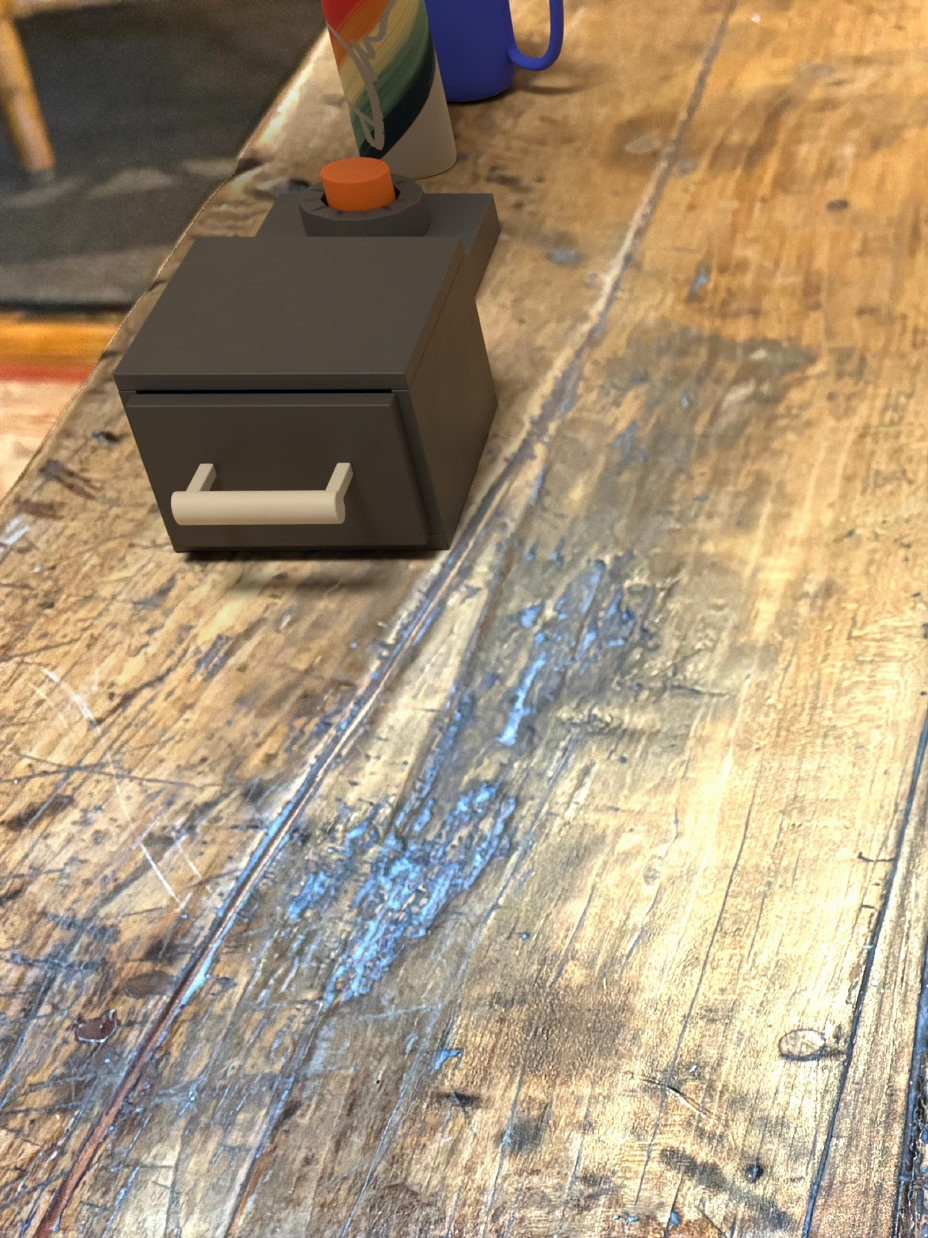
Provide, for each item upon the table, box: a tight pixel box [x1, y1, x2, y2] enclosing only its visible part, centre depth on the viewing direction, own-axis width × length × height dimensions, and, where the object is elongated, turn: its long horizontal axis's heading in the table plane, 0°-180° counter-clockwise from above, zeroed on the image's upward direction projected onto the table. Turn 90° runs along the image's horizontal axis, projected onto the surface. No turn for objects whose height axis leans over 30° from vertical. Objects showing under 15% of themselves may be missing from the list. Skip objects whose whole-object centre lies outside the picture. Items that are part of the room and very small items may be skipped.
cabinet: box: [112, 236, 499, 552], centre depth 106 cm, size 15×13×9 cm
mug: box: [424, 0, 565, 103], centre depth 140 cm, size 8×12×10 cm
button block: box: [254, 173, 502, 297], centre depth 124 cm, size 12×10×4 cm
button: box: [319, 156, 396, 211], centre depth 122 cm, size 4×4×2 cm
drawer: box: [126, 389, 431, 547], centre depth 103 cm, size 18×11×7 cm, turn 4°
